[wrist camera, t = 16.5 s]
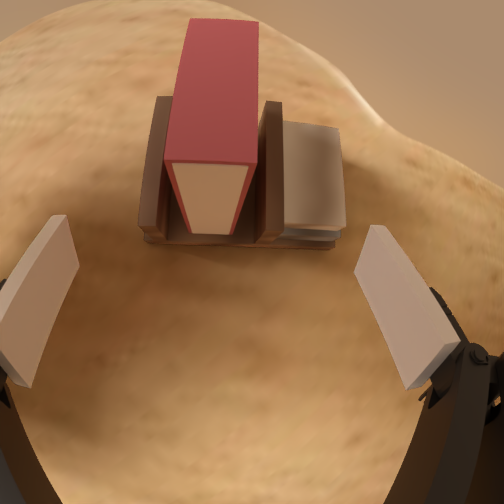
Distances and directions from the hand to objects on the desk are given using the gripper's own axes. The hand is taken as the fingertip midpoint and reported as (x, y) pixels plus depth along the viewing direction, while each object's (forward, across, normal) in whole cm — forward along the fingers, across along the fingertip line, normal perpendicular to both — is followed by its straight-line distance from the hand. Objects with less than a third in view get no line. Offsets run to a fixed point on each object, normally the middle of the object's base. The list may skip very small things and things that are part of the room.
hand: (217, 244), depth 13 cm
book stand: (+15, +2, -4) cm, 15 cm away
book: (+14, 0, -3) cm, 14 cm away
